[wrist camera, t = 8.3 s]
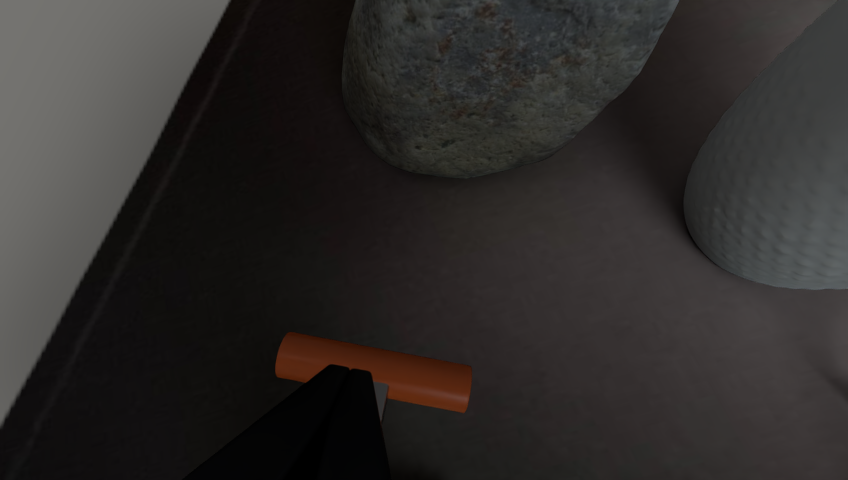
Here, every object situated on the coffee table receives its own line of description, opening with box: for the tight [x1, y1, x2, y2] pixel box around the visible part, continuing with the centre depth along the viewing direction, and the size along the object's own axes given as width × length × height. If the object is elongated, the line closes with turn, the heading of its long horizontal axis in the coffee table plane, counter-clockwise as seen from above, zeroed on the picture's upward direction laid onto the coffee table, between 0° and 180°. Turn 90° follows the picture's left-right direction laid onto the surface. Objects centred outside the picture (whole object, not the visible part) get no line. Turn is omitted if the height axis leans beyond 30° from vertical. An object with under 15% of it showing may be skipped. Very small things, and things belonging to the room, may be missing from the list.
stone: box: [342, 0, 679, 179], centre depth 20 cm, size 12×15×15 cm
